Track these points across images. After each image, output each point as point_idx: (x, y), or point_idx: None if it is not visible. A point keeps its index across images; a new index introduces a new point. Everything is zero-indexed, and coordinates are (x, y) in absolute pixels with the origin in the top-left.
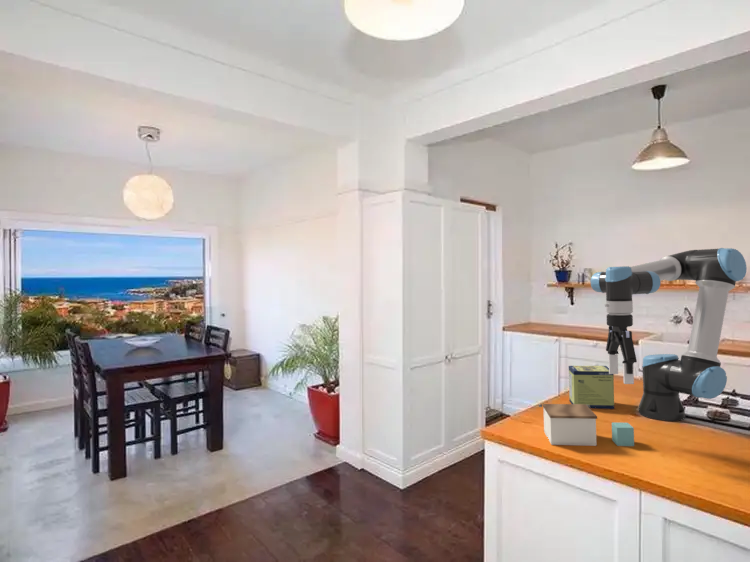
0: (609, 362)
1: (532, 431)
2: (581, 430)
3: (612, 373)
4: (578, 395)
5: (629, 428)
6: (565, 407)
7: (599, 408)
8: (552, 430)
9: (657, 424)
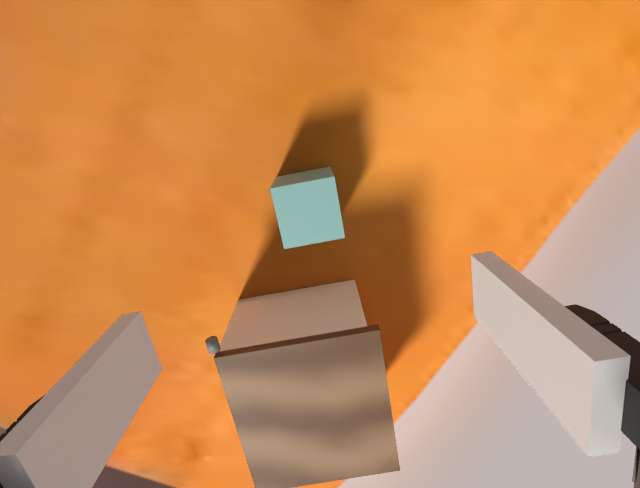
0: (113, 448)
1: None
2: None
3: (154, 353)
4: None
5: (336, 191)
6: (284, 427)
7: None
8: None
9: (33, 19)
